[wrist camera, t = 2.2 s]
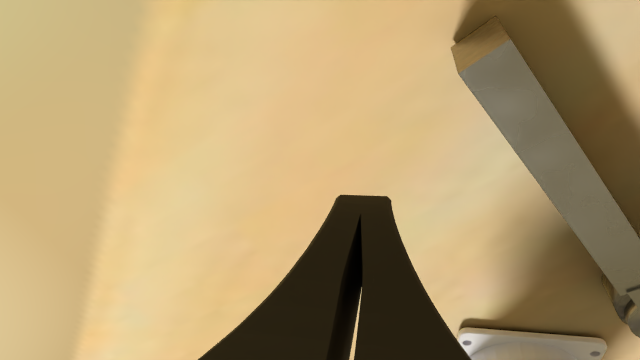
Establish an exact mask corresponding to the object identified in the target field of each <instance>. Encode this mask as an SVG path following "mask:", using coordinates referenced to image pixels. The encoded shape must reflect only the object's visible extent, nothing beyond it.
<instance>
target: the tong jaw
mask: <svg viewBox="0 0 640 360" xmlns="http://www.w3.org/2000/svg"><path fill="white" fill-rule="evenodd" d="M451 50H452V53H453V57H454V60H455V64H456V67H457V71H458V74H459V75H460V77H461V78H462V79H463V81H464V82H465V84H466V85H467V86H468V88H469V89H470V90H471V92H472V93H473V95H474V96H475V97H476V99H477V100H478V101H479V103H480V104H481V105H482V107H483V108H484V110H485V111H486V112H487V114H488V115H489V116H490V118H491V119H492V121H493V122H494V123H495V125H496V126H497V127H498V129H499V130H500V132H501V133H502V134H503V136H504V137H505V138H506V140H507V141H508V142H509V144H510V145H511V147H512V148H513V149H514V151H515V152H516V153H517V155H518V156H519V158H520V159H521V160H522V162H523V163H524V164H525V166H526V167H527V169H528V170H529V171H530V173H531V174H532V175H533V177H534V178H535V179H536V181H537V182H538V184H539V185H540V186H541V188H542V189H543V190H544V192H545V193H546V195H547V196H548V197H549V199H550V200H551V201H552V203H553V204H554V206H555V207H556V208H557V210H558V211H559V212H560V214H561V215H562V216H563V218H564V219H565V221H566V222H567V223H568V225H569V226H570V227H571V229H572V230H573V232H574V233H575V234H576V236H577V237H578V238H579V240H580V241H581V242H582V244H583V245H584V247H585V248H586V249H587V251H588V252H589V253H590V255H591V256H592V258H593V259H594V260H595V262H596V263H597V264H598V266H599V267H600V269H601V270H602V271H603V273H604V274H605V275H606V277H607V278H608V279H609V281H610V282H611V284H612V285H613V286H614V288H615V289H616V290H617V292H618V293H619V295H620V296H622V295H625V294H628V295H629V296H630V298H631V299H632V300H631V301H629V302H628V303H627V305H626V306H625V308H624V312H623V313H624V317H625V319H626V321H627V323H628V325H629V327H630V329H631V331H632V332H633V333H634V334H635V335H636V336H638V337H640V238H639V237H638V235H637V234H636V232H635V231H634V229H633V228H632V226H631V225H630V223H629V221H628V220H627V218H626V217H625V215H624V214H623V212H622V211H621V209H620V207H619V206H618V204H617V203H616V201H615V200H614V198H613V197H612V195H611V194H610V192H609V190H608V189H607V187H606V186H605V184H604V183H603V181H602V180H601V178H600V177H599V175H598V173H597V172H596V170H595V169H594V167H593V166H592V164H591V163H590V161H589V159H588V158H587V156H586V155H585V153H584V152H583V150H582V149H581V147H580V146H579V144H578V142H577V141H576V139H575V138H574V136H573V135H572V133H571V132H570V130H569V128H568V127H567V125H566V124H565V122H564V121H563V119H562V118H561V116H560V115H559V113H558V111H557V110H556V108H555V107H554V105H553V104H552V102H551V101H550V99H549V98H548V96H547V94H546V93H545V91H544V90H543V88H542V87H541V85H540V84H539V82H538V80H537V79H536V77H535V76H534V74H533V73H532V71H531V70H530V68H529V67H528V65H527V63H526V62H525V60H524V59H523V57H522V56H521V54H520V53H519V51H518V50H517V48H516V46H515V45H514V43H513V42H512V40H511V39H510V37H509V36H508V34H507V32H506V31H505V29H504V28H503V26H502V25H501V23H500V22H499V20H498V19H497V17H496V16H495V17H494V18H492V19H491V20H489V21H488V22H486V23H485V24H484V25H482V26H481V27H479V28H478V29H477V30H475V31H474V32H472V33H471V34H469V35H468V36H467V37H465V38H464V39H462V40H461V41H459V42H458V43H457V44H455V45H454V46H452V47H451Z"/></svg>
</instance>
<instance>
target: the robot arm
mask: <svg viewBox="0 0 640 360" xmlns="http://www.w3.org/2000/svg"><path fill="white" fill-rule="evenodd" d="M361 288H362V294H361ZM360 294H361V303H360V313H359V322H358V331H357V340H356V348H355V356H354V360H601V359H602V357H603V355H604V354H605V352H606V350H607V345H606V342H605V341H604V340H603V339H601V338H594V337H581V336H569V335H556V334H544V333H531V332H519V331H506V330H494V329H481V328H469V327H467V328H462V329H461V330H459V333H458V338H457V339H456V338H455V337H454V335H453V334H452V332H451V331H450V329H449V328H448V326H447V325H446V323H445V322H444V320H443V319H442V317H441V316H440V314H439V312H438V311H437V309H436V308H435V306H434V304H433V303H432V301H431V299H430V298H429V296H428V294H427V292H426V291H425V289H424V287H423V285H422V283H421V281H420V279H419V277H418V275H417V273H416V271H415V269H414V267H413V265H412V263H411V261H410V259H409V257H408V254H407V252H406V249H405V247H404V245H403V242H402V240H401V237H400V235H399V232H398V229H397V226H396V223H395V219H394V215H393V211H392V206H391V200H390V199H389V198H388V197H387V196H360V195H340V196H339V197H337V198H336V200H335V203H334V205H333V207H332V209H331V211H330V213H329V214H328V216H327V218H326V220H325V221H324V223H323V225H322V226H321V228H320V230H319V231H318V233H317V234H316V236H315V237H314V239H313V240H312V242H311V243H310V245H309V246H308V248H307V249H306V251H305V252H304V253H303V255H302V256H301V257H300V259H299V260H298V261H297V262H296V264H295V265H294V266H293V268H292V269H291V270H290V272H289V273H288V274H287V275H286V276H285V278H284V279H283V280H282V281H281V282H280V284H279V285H278V286H277V287H276V288H275V289H274V290H273V291H272V293H271V294H270V295H269V296H268V297H267V298H266V299H265V300H264V301H263V302H262V303H261V304H260V305H259V306H258V307H257V308H256V309H255V310H254V311H253V312H252V313H251V314H250V315H249V316H248V317H247V318H246V319H245V320H244V321H243V322H242V323H241V324H240V325H239V326H237V327H236V328H235V329H234V330H233V331H232V332H231V333H229V334H228V335H227V336H226V337H225V338H223V339H222V340H221V341H220V342H219V343H217V344H216V345H215V346H214V347H213V348H212V349H210V350H209V351H208V352H207V353H206V354H204V355H203V356H202V357H201V358H199V359H198V360H349V357H350V351H351V345H352V340H353V334H354V328H355V323H356V317H357V311H358V305H359V300H360Z"/></svg>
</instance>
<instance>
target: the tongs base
mask: <svg viewBox="0 0 640 360" xmlns="http://www.w3.org/2000/svg"><path fill="white" fill-rule="evenodd" d="M602 282H603V285H604V287H605V289H606V291H607V293H608V295H609V297H610V299H611V301H612V303H613V305H614V307H615V310H616V312H617V314H618V316H619V317H620V319H621V320H622V321H623V322H624V323H626V324H628V323H627V321H626V319H625V317H624V313H623V312H624V308H625V306H626V305H627V303H628V302H629V301H631V300H632V299H631V298H630V296H629V295H628V294H625V295H622V296H620V295H619V293H618V292H617V290H616V289H615V288H614V286H613V285H612V284H611V282H610V281H609V279H608V278H607V277H606V275H605V274H604V273H603V274H602Z"/></svg>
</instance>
